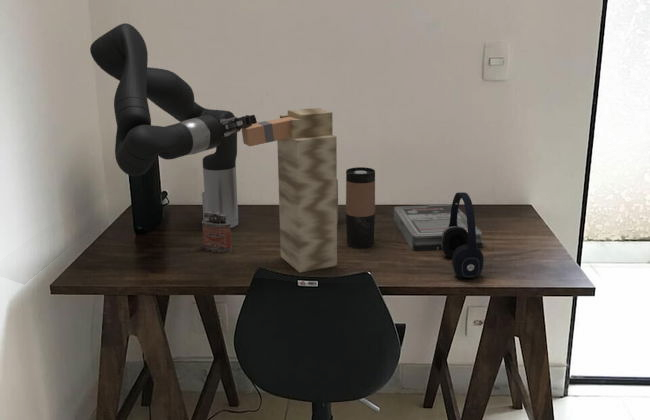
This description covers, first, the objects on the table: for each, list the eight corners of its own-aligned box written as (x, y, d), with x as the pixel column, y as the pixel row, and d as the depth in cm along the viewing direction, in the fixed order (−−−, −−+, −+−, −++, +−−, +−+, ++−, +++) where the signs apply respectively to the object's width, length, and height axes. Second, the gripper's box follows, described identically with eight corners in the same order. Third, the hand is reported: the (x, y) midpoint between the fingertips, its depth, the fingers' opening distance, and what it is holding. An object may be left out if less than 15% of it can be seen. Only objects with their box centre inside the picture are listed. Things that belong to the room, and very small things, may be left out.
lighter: (234, 248, 185) (232, 212, 182) (228, 253, 181) (226, 216, 179) (207, 245, 187) (204, 209, 184) (200, 249, 184) (198, 213, 181)
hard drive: (413, 252, 182) (413, 236, 180) (393, 221, 207) (393, 206, 206) (482, 249, 183) (483, 233, 182) (454, 218, 209) (454, 204, 208)
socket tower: (299, 272, 168) (296, 117, 157) (280, 256, 178) (276, 109, 168) (337, 265, 172) (336, 113, 161) (316, 250, 183) (314, 106, 172)
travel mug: (378, 241, 189) (379, 168, 183) (368, 250, 182) (369, 175, 177) (352, 237, 192) (352, 166, 186) (341, 246, 186) (341, 172, 180)
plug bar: (249, 146, 158) (246, 128, 157) (243, 143, 162) (240, 125, 161) (305, 134, 164) (303, 117, 162) (298, 131, 167) (296, 114, 166)
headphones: (438, 253, 180) (441, 183, 175) (465, 252, 180) (468, 183, 175) (455, 283, 161) (458, 206, 156) (485, 282, 161) (489, 206, 156)
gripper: (179, 157, 159) (229, 142, 172) (224, 145, 150) (273, 131, 164) (169, 125, 158) (220, 112, 171) (213, 111, 149) (264, 99, 163)
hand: (246, 121), depth 167 cm, fingers open, 5 cm apart
